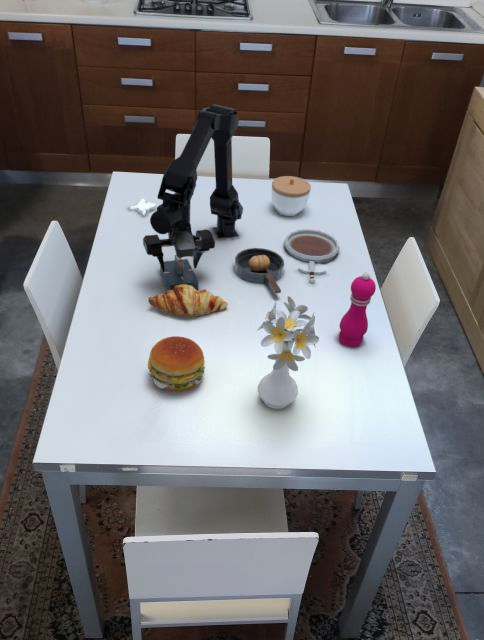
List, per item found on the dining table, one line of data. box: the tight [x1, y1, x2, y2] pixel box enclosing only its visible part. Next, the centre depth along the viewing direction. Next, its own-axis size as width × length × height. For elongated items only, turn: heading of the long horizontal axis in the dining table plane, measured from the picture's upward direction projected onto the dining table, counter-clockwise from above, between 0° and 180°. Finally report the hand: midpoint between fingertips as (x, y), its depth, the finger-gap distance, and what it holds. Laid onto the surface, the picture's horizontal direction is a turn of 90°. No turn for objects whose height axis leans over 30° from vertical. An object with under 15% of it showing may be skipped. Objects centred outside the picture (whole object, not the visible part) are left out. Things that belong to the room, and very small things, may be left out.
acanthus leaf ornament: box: [129, 198, 157, 217], centre depth 208 cm, size 8×7×2 cm
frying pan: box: [283, 228, 340, 285], centre depth 193 cm, size 17×3×28 cm
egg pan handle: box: [265, 274, 282, 294], centre depth 178 cm, size 8×2×1 cm, turn 18°
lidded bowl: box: [271, 175, 312, 217], centre depth 210 cm, size 13×13×11 cm
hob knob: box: [174, 254, 184, 276], centre depth 178 cm, size 4×2×4 cm, turn 18°
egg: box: [249, 255, 270, 272], centre depth 186 cm, size 4×6×4 cm
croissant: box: [147, 284, 229, 318], centre depth 171 cm, size 21×10×8 cm, turn 95°
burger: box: [147, 335, 206, 393], centre depth 150 cm, size 13×14×10 cm
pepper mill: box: [338, 272, 377, 348], centre depth 161 cm, size 7×7×20 cm
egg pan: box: [233, 247, 285, 284], centre depth 186 cm, size 14×14×4 cm
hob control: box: [159, 258, 199, 291], centre depth 180 cm, size 12×8×3 cm
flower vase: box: [256, 295, 320, 410], centre depth 141 cm, size 13×18×25 cm
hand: (179, 269), depth 179 cm, fingers open, 9 cm apart
